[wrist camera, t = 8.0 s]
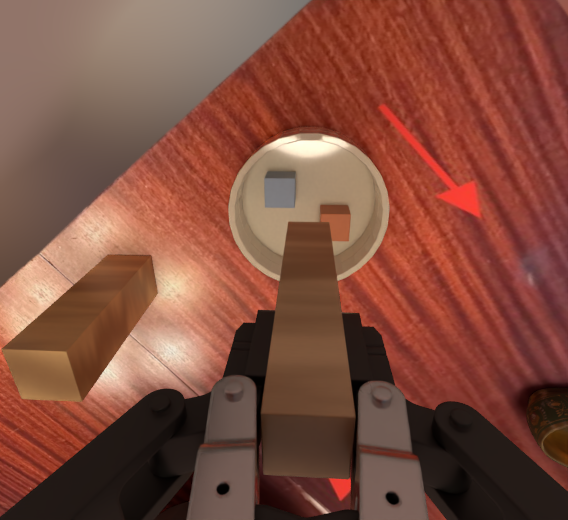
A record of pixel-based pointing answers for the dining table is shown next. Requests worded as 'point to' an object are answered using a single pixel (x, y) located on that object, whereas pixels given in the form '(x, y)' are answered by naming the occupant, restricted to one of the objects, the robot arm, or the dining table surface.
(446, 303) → the dining table surface
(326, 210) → the terracotta block
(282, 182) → the bluegrey block
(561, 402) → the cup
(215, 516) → the robot arm
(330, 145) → the round beige tray
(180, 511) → the bowl
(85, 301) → the oak stand
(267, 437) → the wooden square bar
